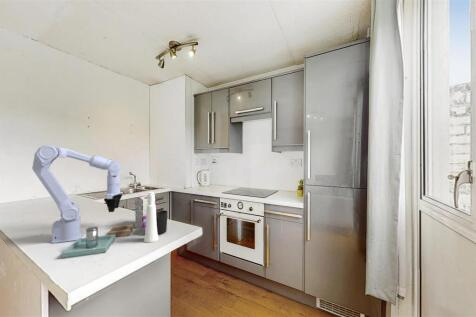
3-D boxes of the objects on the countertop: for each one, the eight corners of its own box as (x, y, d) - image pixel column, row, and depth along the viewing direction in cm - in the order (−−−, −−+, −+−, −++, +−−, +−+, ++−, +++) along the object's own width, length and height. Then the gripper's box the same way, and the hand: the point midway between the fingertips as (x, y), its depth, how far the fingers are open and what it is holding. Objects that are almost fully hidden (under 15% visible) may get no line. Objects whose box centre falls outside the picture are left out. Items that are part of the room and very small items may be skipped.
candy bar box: (148, 221, 113) (148, 194, 112) (156, 222, 112) (155, 194, 111) (134, 228, 102) (134, 197, 101) (142, 229, 101) (142, 198, 100)
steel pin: (84, 249, 77) (84, 230, 77) (87, 245, 81) (87, 227, 81) (96, 247, 79) (96, 228, 79) (98, 243, 83) (98, 226, 83)
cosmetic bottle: (143, 243, 83) (143, 193, 83) (144, 238, 89) (144, 191, 89) (158, 241, 86) (158, 192, 86) (158, 236, 91) (158, 190, 91)
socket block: (107, 238, 89) (107, 233, 89) (113, 231, 98) (113, 226, 98) (129, 235, 92) (129, 230, 92) (133, 229, 100) (133, 224, 100)
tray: (61, 258, 71) (61, 253, 71) (79, 242, 84) (79, 238, 84) (105, 252, 76) (105, 247, 76) (115, 238, 89) (115, 234, 89)
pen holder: (160, 236, 91) (160, 215, 91) (143, 235, 93) (143, 214, 93) (170, 229, 100) (170, 210, 100) (155, 228, 102) (155, 209, 102)
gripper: (118, 185, 94) (118, 213, 94) (125, 182, 108) (125, 206, 108) (102, 186, 92) (102, 214, 92) (111, 182, 106) (111, 207, 106)
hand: (113, 209), depth 100 cm, fingers open, 7 cm apart
